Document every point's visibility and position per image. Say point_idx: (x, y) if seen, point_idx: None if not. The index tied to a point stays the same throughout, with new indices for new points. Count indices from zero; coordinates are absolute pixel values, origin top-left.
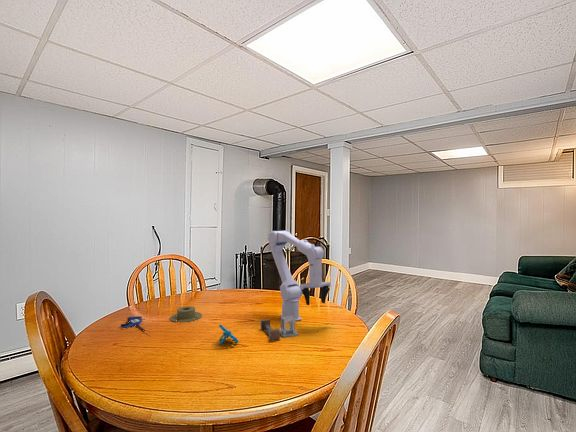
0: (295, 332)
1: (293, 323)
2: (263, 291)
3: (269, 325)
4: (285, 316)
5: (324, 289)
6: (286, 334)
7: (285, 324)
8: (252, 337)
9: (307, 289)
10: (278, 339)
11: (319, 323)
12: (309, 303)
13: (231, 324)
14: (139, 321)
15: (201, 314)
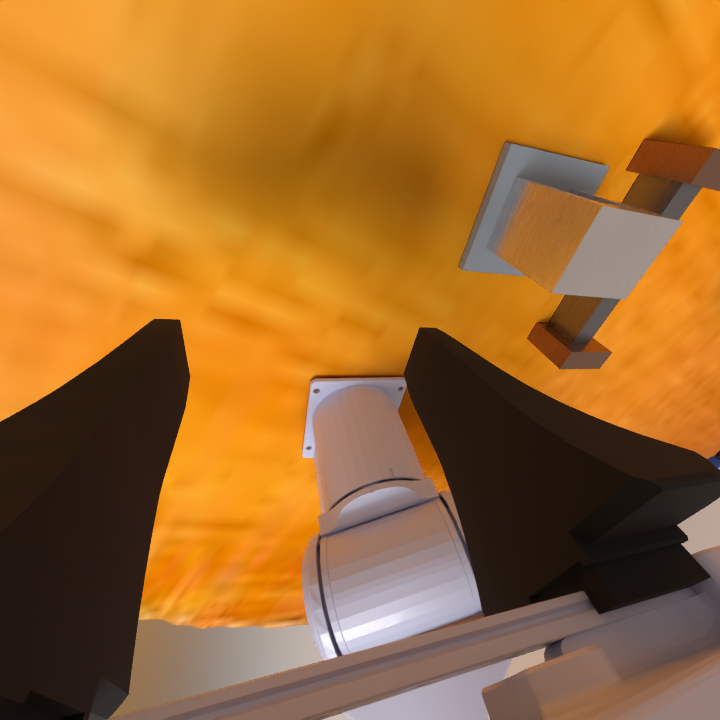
0: (504, 186)
1: (579, 196)
2: (290, 618)
3: (597, 307)
4: (599, 292)
5: (23, 606)
6: (570, 185)
7: (634, 207)
8: (672, 260)
9: (621, 553)
10: (653, 142)
11: (222, 287)
12: (434, 336)
13: (587, 413)
14: (717, 467)
15: None
